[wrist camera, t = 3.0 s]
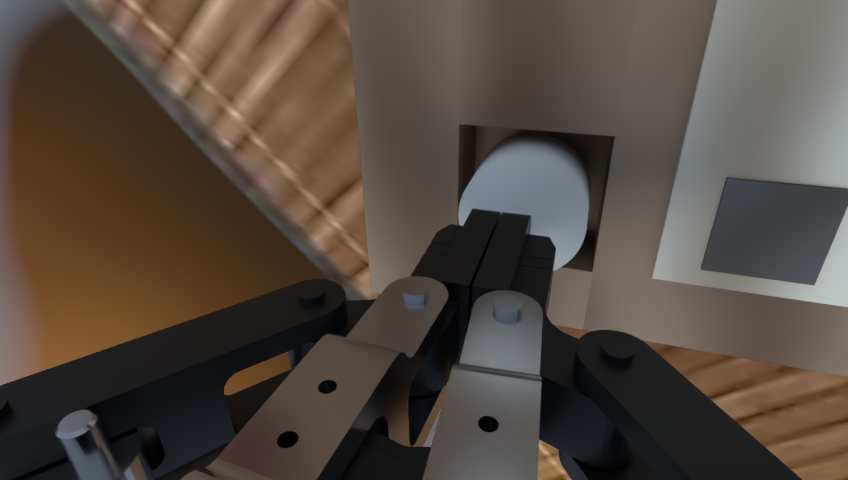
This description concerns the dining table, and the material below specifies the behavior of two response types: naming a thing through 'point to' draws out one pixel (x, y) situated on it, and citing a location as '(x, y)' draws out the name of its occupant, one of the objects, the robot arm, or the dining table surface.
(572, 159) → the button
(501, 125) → the button board
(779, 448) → the dining table surface
